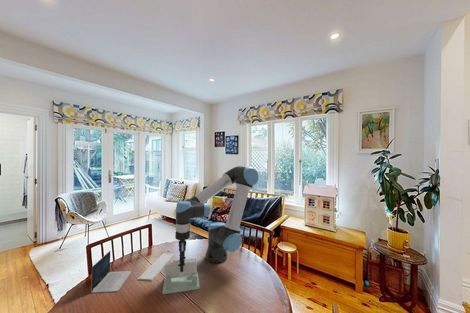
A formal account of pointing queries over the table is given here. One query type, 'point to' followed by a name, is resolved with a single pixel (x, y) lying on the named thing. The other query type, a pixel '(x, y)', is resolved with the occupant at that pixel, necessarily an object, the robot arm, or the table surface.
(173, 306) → the table surface
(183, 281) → the rack
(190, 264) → the white rectangular block
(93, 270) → the laptop
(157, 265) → the baseboard
